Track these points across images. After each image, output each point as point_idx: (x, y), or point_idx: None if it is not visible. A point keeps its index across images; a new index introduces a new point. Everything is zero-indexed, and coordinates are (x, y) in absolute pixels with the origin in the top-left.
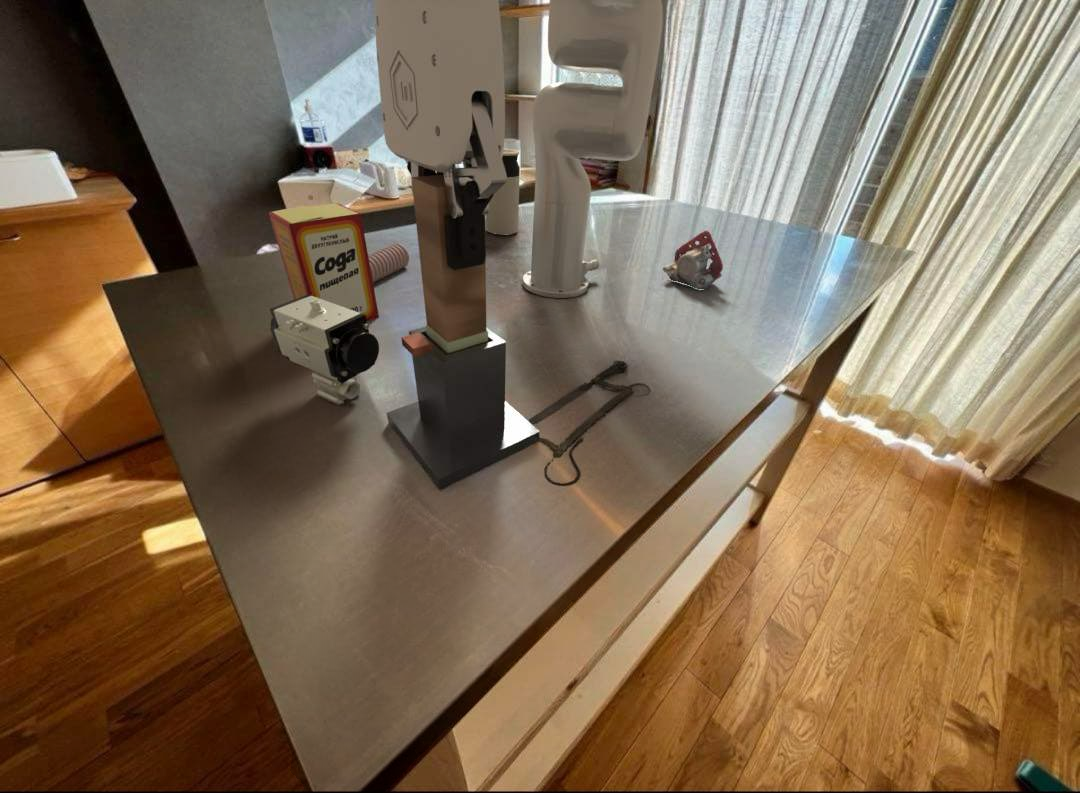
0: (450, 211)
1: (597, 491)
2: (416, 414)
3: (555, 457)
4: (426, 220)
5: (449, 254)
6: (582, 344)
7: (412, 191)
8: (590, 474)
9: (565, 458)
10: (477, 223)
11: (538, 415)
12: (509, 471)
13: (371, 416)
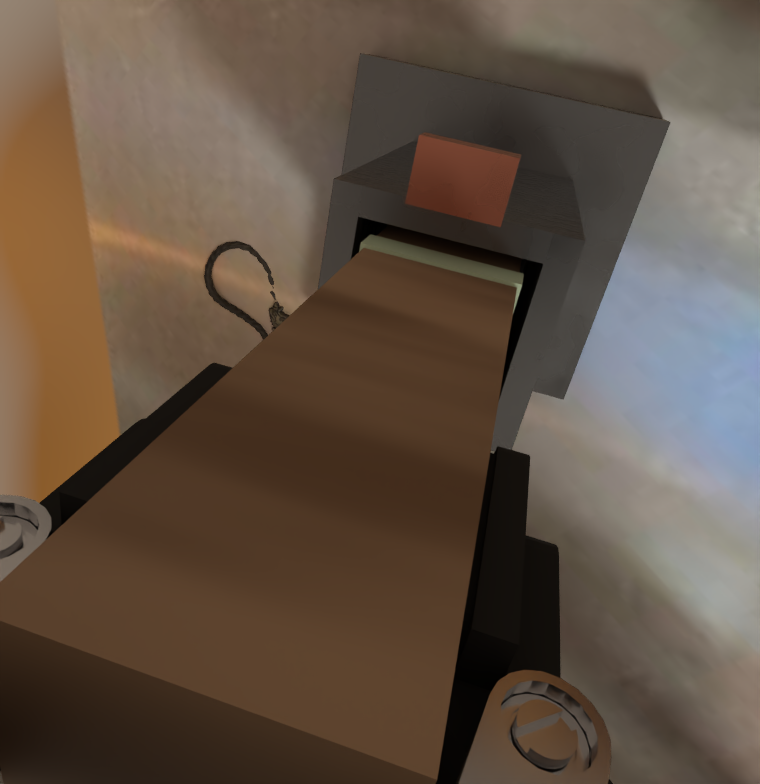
0: (40, 532)
1: (167, 281)
2: (589, 178)
3: (274, 304)
4: (315, 494)
5: (185, 388)
6: None
7: (596, 734)
8: (202, 309)
9: (260, 314)
10: None
11: None
12: (308, 209)
13: (735, 102)
